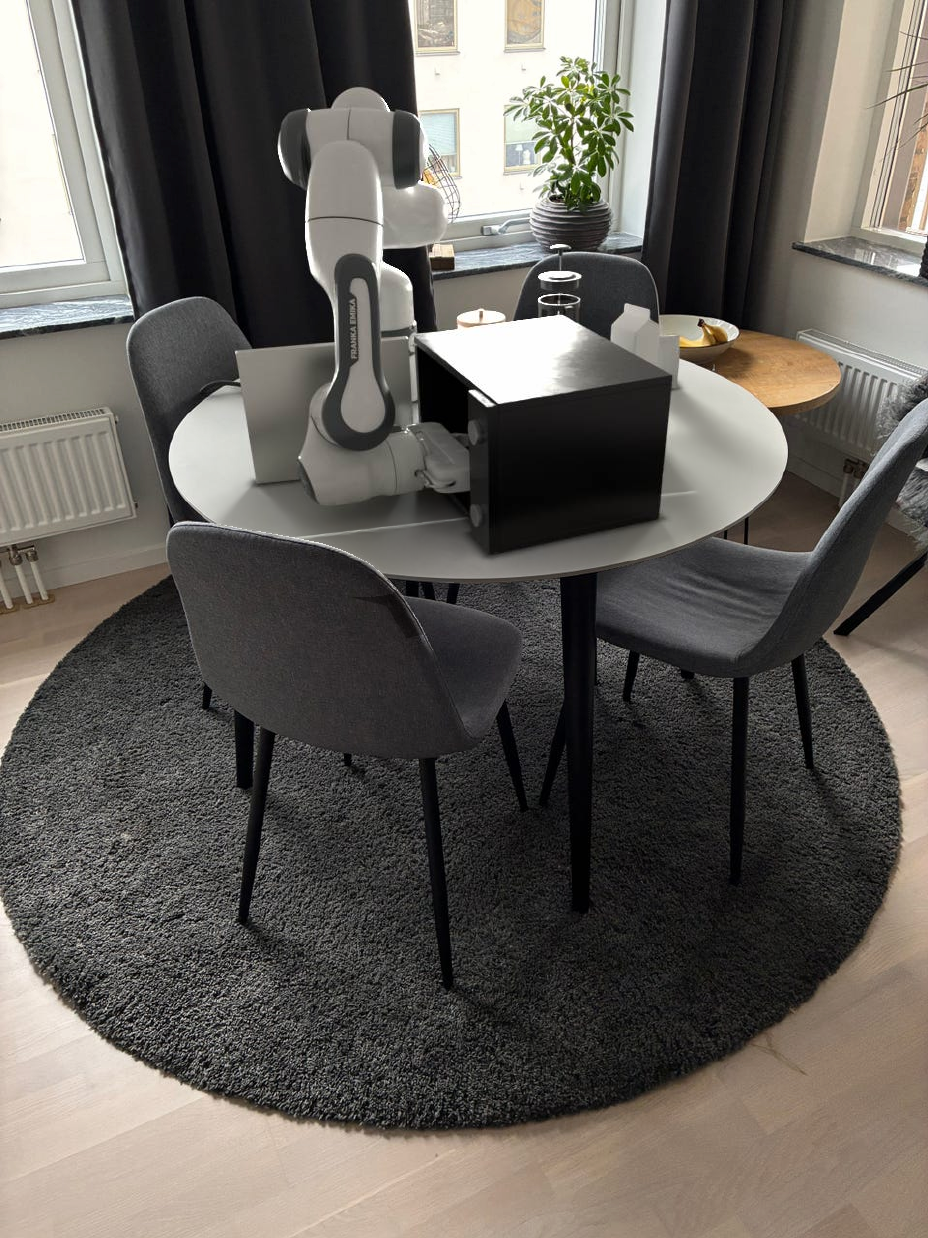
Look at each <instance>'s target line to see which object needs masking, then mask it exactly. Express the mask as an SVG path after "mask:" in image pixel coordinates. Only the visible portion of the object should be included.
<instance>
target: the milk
mask: <svg viewBox="0 0 928 1238" xmlns="http://www.w3.org/2000/svg"><path fill="white" fill-rule="evenodd" d="M623 307H624V308H623V312H622V313H621V314H620V315H619V316H618V317H617V319H616V320H615V321H613V323H612V324H611V325H610V326H611V327H610V341H611V342H613V343H615V344H616V345H618V346H620V347H622V348H624V349H626V350H627V351H629V352H631V353H633V354H635V355H637V356H639V357H640V358H642V359H644V360H646V361H648V362H650V363H651V364H653V365H655V366H657V363H658V351H659V340H660V336H661V327H662V326H661V325H660V324H659V323H657V322H656V321H654V320H652V319H651V310H650V309H649V308H645V307H642V306H638V305H634V304H630V303H626V302H625V303H624V305H623Z"/></svg>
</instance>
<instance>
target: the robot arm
mask: <svg viewBox="0 0 928 1238" xmlns="http://www.w3.org/2000/svg"><path fill="white" fill-rule="evenodd" d="M277 151H278V156H279V160H280V163H281V166H282V169H283V172H284V175H285V177H287V178H288V179H289V181H291V182H292V184H294V185H295V186H299V187H301V188H302V189H303V190H304V191H306V202H305V244H306V245H305V246H306V247H305V248H306V253H307V260H308V265H309V270H310V274H311V275H312V277H313V278H314V280H315V281H316V282H317V283H318V284H319V285H320V286H321V287H322V288H323V290H324V291H325V293H326V295H327V296H328V299H329V301H330V303H331V308H332V312H333V326H334V327H333V328H334V342H335V364H336V368H335V375H334V378H333V381H332V382H329V383H326V384H324V385H323V386H321V387H320V388H319V389H318V390H317V391H316V392H315V393H314V395H313V397H312V399H311V402H310V407H309V421H308V429H307V435H306V439H305V442H304V446H303V448H302V451H301V453H300V455H299V456H298V458H297V470H298V474H299V477H300V479H299V480H300V484H301V485H302V488H303V490H304V491H305V493H306V494H307V496H308V497H309V499H311V500H312V501H313V502H315V503H316V504H318V505H322V506H339V505H340V506H341V505H347V504H348V505H349V504H354V503H355V504H356V503H360V502H365V501H368V500H370V499H372V498H374V497H375V498H376V497H379V496H385V497H386V496H388V497H391V496H397V495H403V494H407V493H413V492H418V491H422V490H423V489H424V487H425V488H426V489H433V490H434V491H435V492H437V493H441V494H447V493H455V492H464V491H470V468H469V451H468V450H467V449H466V448H465V446H469V435H468V434H462V433H452V434H451V433H450V432H449V431H448V430H447V429H446V428H445V427H444V426H443V425H442V424H440V423H436V422H425V423H419V422H416V423H413V424H409V425H405V426H402V427H401V426H400V425H398V424H394V422H395V406H394V401H393V398H392V396H391V393H390V391H389V388H388V386H387V383H386V380H385V377H384V373H383V368H382V351H381V338H390V337H402V336H407V338H408V345H409V361H410V378H411V395H412V403H413V402H415V401H416V402H417V401H418V400H417V382H416V365H415V347H414V335H418V328H417V327H418V326H417V321H416V320H415V313H414V295H413V294H414V293H413V284H412V282H411V280H410V278H409V277H408V276H407V275H406V274H405V273H404V272H402V271H401V270H399V269H398V268H396V267H394V266H391V265H389V264H387V263H385V262H384V261H383V252H384V250H387V249H388V250H391V249H416V248H420V247H425V246H429V245H432V244H436V243H437V244H438V243H439V242H440V241H441V239H442V238H443V236H444V235H445V234H446V231H447V230H448V229H447V228H448V225H449V219H450V213H449V206H448V203H447V200H446V199H445V196H444V194H443V193H442V192H441V191H440V189H438V188H437V187H436V186H434V185H432V184H428V183H425V182H424V181H421V180H422V178H423V173H424V172H425V169H426V167H427V164H428V157H429V143H428V139H427V135H426V133H425V130H424V128H423V123H422V122H421V121H420V119H419V118H418V117H417V116H416V114H413V113H411V112H408V111H405V110H401V109H395V111H391V110H390V109H389V107H388V105H387V103H386V102H385V100H384V99H383V97H382V96H381V95H380V94H379V93H377V92H376V91H374V90H372V89H370V88H367V87H361V86H360V87H357V86H356V87H351V88H348V89H346V90H345V91H343V92H341V93H340V94H339V95H338V96H337V97H336V98H335V99H334V101H333V103H332V105H331V107H330V108H320V109H314V110H310V109H309V108H302V109H298V110H297V109H296V110H294V111H291V112H288V114H287V115H286V116H285V117H284V119H283V120H282V122H281V124H280V130H279V133H278V141H277ZM219 386H220V387H221V386H228V387H238V388H241V383H240V381H233V380H215V381H212V382H209V383H207V384H205V385H204V386H202V388H201V389H200V390H199V392H198V393H199V394H205V393H206V392H207V391H208V390H210V389H212V388H215V387H219Z"/></svg>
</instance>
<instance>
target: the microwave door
mask: <svg viewBox="0 0 928 1238" xmlns="http://www.w3.org/2000/svg"><path fill="white" fill-rule="evenodd" d="M381 351H382V368H383V373H384V377H385V380H386V383H387V386H388V388H389V391H390V393H391V396H392V398H393V401H394V406H395V422H394V424H398V425H400V426H401V427H402V426H405V425H409V424H414V413H413V412H414V411H413V402H412V395H411V378H410V361H409V345H408V338H407V336H402V337H390V338H381ZM235 357H236V365H237V371H238V376H239V382H240V383H241V387H240V389H241V394H242V401H243V408H244V414H245V419H246V420H245V421H246V426H247V430H248V431H247V432H248V439H249V445H250V451H251V456H252V463H253V470H254V476H255V482H256V484H257V485H260V484H269V483H278V482H286V481H287V482H289V481H297V480H300V477H299V474H298V470H297V458H298V456H299V455H300V453H301V451H302V448H303V446H304V442H305V439H306V435H307V429H308V421H309V407H310V402H311V399H312V397H313V395H314V393H315V392H316V391H317V390H318V389H319V388H320V387H321V386H323V385H324V384H326V383H329V382H332V381H333V378H334V375H335V368H336V364H335V341H334V342H320V343H309V344H298V345H297V344H296V345H286V346H275V347H273V346H272V347H264V348H263V347H262V348H251V349H242V350H241V349H240V350H235Z"/></svg>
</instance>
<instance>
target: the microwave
mask: <svg viewBox="0 0 928 1238" xmlns="http://www.w3.org/2000/svg"><path fill="white" fill-rule="evenodd" d="M414 347H415V365H416V382H417V400H416V401H417V415H418V423H425V422H436V423H440V424H442V425H443V426H444V427H445V428H446V429H447V430H448V431H449V432H450V433H451V434H452V433H462V434H468V435H469V446H465V448H466V449H467V450H468V451H469V468H470V491H464V492H455V493H446V494H447V495H448V497H449V498H450V499H451V500H452V501H453V502H454V503H455V505H456V506H457V507H458V508H459V509H460V510H461V511H462V512H463V514H464V515H466V517H467V518H468V519H469V520H470V534H471V535H472V536H473V538H475V540H476V541H477V542H478V543H479V544H480V545H481V547H483V549H484V550H485V551H486V552H487V553H488V555H493V554H497V553H499V554H503V553H506V552H507V553H508V552H511V551H515V550H521V549H525V548H530V547H535V546H539V545H543V544H548V543H553V542H557V541H562V540H566V539H571V538H577V537H580V536H584V535H585V536H586V535H590V534H594V533H599V532H603V531H609V530H612V529H617V528H622V527H627V526H630V525H635V524H639V523H645V522H650V521H654V520H659V519H660V512H661V502H662V491H663V483H664V482H663V481H664V471H665V470H664V469H665V460H666V452H667V451H666V448H667V441H668V440H667V439H668V431H669V430H668V429H669V419H670V407H671V397H672V389H673V388H672V378H673V375H672V374H670V373H668V372H666V371H664V370H662V369H661V368H659V367H657V366H655V365H653V364H651V363H650V362H648V361H646V360H644V359H642V358H640V357H639V356H637V355H635V354H633V353H631V352H629V351H627V350H626V349H624V348H622V347H620V346H618V345H616V344H615V343H613V342H611V340H609V339H608V338H606V337H604V336H601V335H600V334H598V333H596V332H594V331H592V330H591V329H589V328H587V327H585V326H583V325H581V324H580V323H579V324H578V323H576V322H575V320H574V321H572V320H570V319H569V318H567V317H565V316H563V315H562V314H560V315H558V314H557V315H555V316H551V317H548V316H544V317H542V318H537V317H536V318H531V319H523V320H516V321H507V322H505V323H501V324H493V325H486V326H479V327H472V328H465V329H458V328H457V329H451V330H444V331H437V332H430V333H429V332H428V333H422V334H417V335H414Z"/></svg>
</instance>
